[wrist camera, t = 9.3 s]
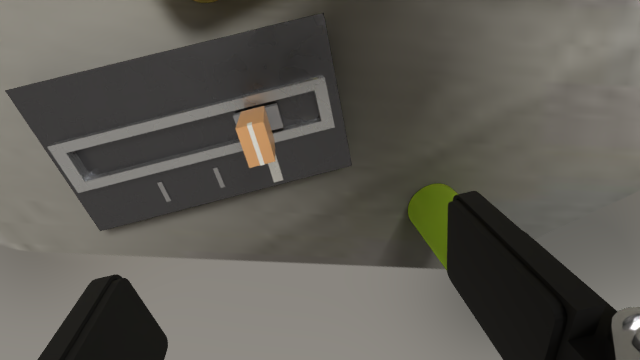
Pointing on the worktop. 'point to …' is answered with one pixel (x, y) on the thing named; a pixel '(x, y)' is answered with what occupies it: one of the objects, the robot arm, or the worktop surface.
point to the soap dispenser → (432, 216)
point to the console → (190, 121)
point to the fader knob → (258, 133)
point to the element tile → (205, 1)
